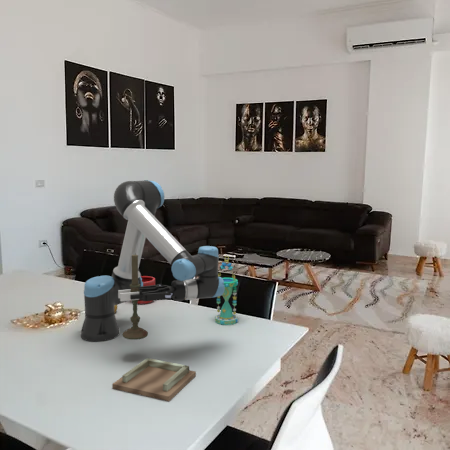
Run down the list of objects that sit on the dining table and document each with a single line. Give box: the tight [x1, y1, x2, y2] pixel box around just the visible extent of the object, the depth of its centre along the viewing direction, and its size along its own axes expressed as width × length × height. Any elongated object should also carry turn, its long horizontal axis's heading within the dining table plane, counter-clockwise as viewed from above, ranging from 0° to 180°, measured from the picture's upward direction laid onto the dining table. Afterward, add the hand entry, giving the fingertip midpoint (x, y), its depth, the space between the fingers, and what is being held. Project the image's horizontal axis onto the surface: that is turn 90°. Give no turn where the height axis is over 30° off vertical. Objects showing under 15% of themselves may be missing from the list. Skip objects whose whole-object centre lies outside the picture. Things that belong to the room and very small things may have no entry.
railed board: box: [111, 357, 197, 402], centre depth 146 cm, size 20×18×4 cm
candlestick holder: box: [122, 253, 149, 341], centre depth 162 cm, size 9×9×30 cm
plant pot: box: [137, 275, 156, 305], centre depth 232 cm, size 13×13×12 cm
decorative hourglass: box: [214, 255, 239, 326], centre depth 203 cm, size 11×11×30 cm
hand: (119, 295), depth 160 cm, fingers closed on candlestick holder, 3 cm apart
